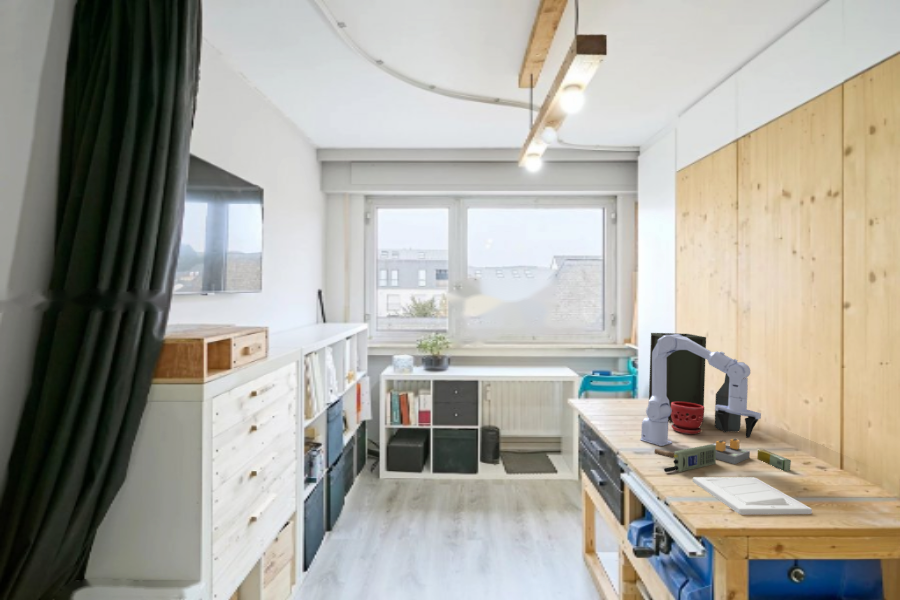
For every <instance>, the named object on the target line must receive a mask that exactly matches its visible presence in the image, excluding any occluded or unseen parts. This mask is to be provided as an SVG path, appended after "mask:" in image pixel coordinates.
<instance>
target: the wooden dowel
mask: <svg viewBox="0 0 900 600" xmlns="http://www.w3.org/2000/svg"><path fill="white" fill-rule="evenodd" d="M657 453H658V454H657ZM654 454H657V455H661V454H662V456H665V455H666V456H665V457H669V456H670V457H669V458H673V457H674V455H675V453H674V452H672V451H668V450H664V449H659V448H654ZM673 459H675V457H674V458H673Z"/></svg>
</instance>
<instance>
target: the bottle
mask: <svg viewBox="0 0 900 600" xmlns="http://www.w3.org/2000/svg"><path fill="white" fill-rule="evenodd" d="M728 400H729V376H728V375H727V373H725V377H724V382H723V384H722V385H721V387H720V388H719V389H718V391H717V392H716V393H715V401H714V403H715V405H723V406H728ZM715 405H714V406H715ZM717 412H718V411H716V410H715V409H714V427H715V429H717V430H720V431H722V432H723V429H722V425H721V422H720V420H719V418H718V416H717ZM741 421H742V415H737V414H732V413H730V414H729V419H728V432H729V433H730V432H731V433H738V431H739V432H740V431H741ZM728 432H727V433H728Z"/></svg>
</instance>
